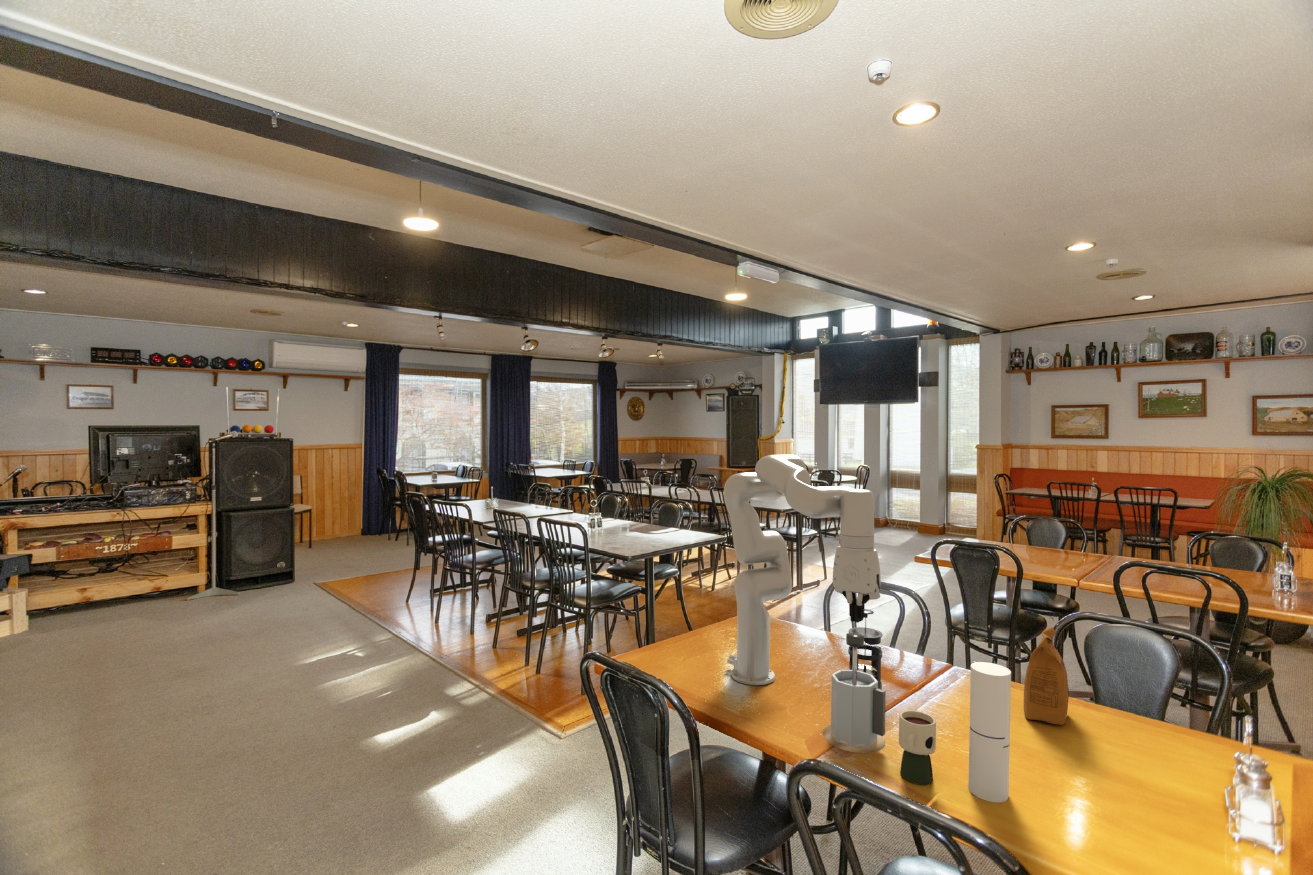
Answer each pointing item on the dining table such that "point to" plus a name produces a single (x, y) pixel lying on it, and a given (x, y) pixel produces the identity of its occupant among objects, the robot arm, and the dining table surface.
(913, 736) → the character mug
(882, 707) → the carafe
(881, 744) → the trivet
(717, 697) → the dining table surface
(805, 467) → the robot arm
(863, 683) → the plunger
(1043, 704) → the coffee package
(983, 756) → the cylindrical container
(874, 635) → the french press
